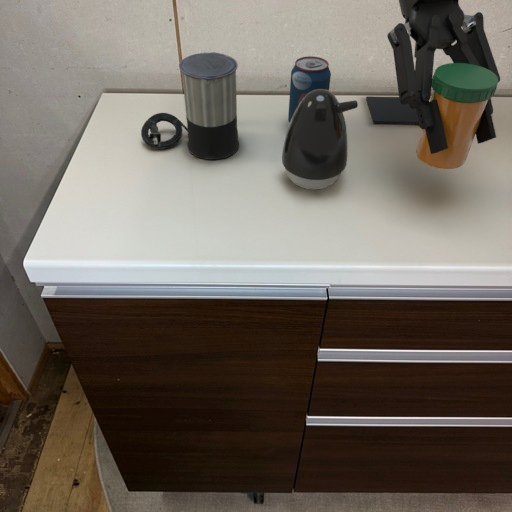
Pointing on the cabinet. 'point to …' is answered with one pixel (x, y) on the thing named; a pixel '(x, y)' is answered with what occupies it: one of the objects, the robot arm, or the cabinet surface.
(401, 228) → the cabinet surface
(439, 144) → the robot arm
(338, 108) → the pump dispenser
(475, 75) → the jar lid
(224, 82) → the milk frother
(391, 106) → the mat
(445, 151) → the jar
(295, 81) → the soda can
